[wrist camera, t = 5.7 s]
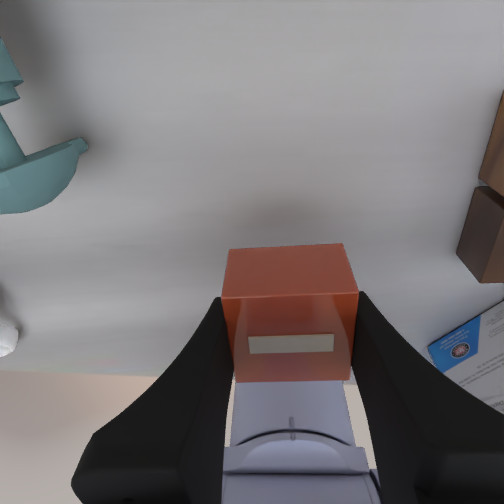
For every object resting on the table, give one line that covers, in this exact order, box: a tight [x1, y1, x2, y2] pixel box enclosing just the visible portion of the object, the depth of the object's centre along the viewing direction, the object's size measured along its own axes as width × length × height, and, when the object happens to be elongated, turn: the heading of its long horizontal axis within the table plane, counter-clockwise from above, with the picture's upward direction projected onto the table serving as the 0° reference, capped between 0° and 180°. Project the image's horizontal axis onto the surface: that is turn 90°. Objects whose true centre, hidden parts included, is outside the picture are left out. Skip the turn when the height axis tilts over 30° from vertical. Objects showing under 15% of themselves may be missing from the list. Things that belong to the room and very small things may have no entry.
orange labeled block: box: [221, 243, 359, 383], centre depth 14 cm, size 4×4×3 cm
